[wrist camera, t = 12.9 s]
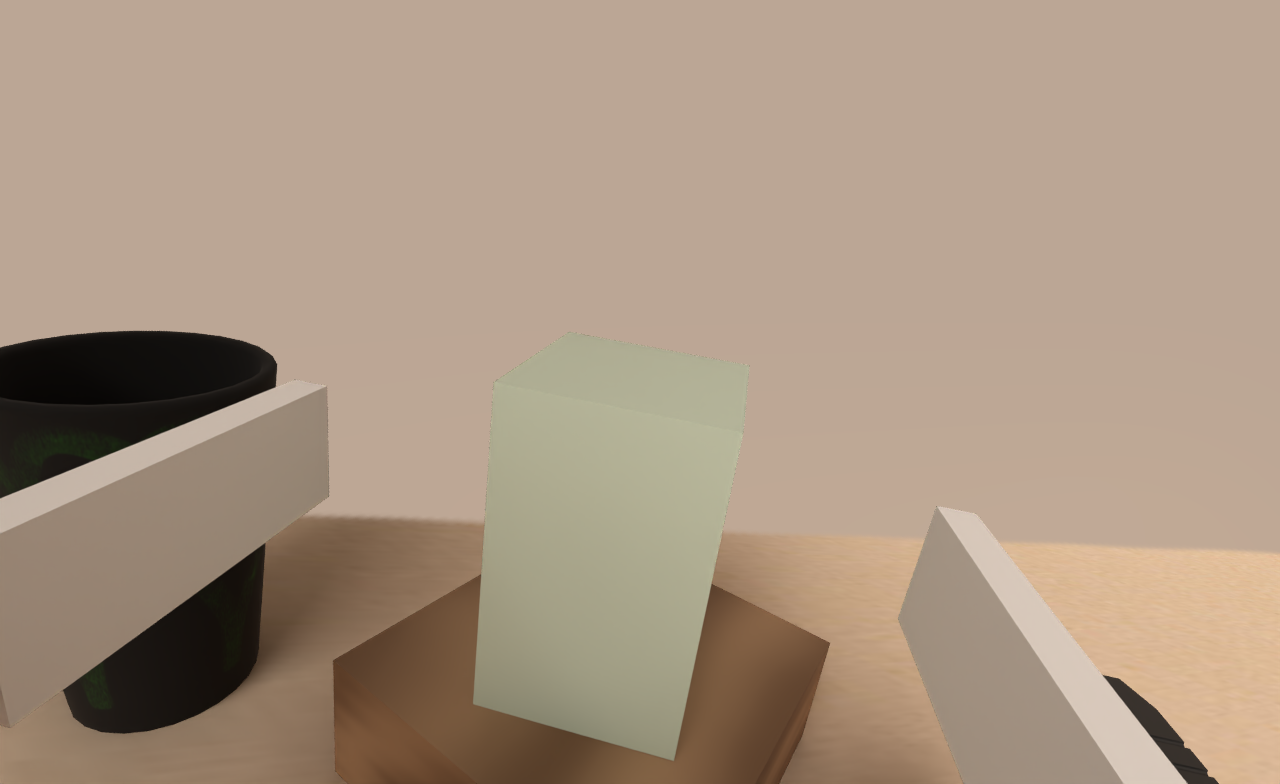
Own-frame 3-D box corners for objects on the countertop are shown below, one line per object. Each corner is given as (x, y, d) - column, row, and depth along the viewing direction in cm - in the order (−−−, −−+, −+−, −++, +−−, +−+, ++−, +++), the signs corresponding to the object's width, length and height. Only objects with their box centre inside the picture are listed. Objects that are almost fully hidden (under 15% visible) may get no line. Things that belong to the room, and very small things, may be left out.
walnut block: (335, 781, 20) (333, 660, 18) (567, 605, 30) (578, 517, 28) (634, 1084, 14) (668, 946, 13) (799, 744, 24) (830, 643, 23)
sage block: (473, 704, 18) (493, 382, 14) (543, 583, 23) (569, 332, 20) (673, 761, 17) (743, 432, 14) (696, 621, 22) (749, 365, 19)
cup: (40, 637, 23) (-23, 332, 19) (272, 582, 28) (259, 328, 24) (8, 806, 17) (-90, 423, 14) (305, 702, 22) (295, 394, 18)
